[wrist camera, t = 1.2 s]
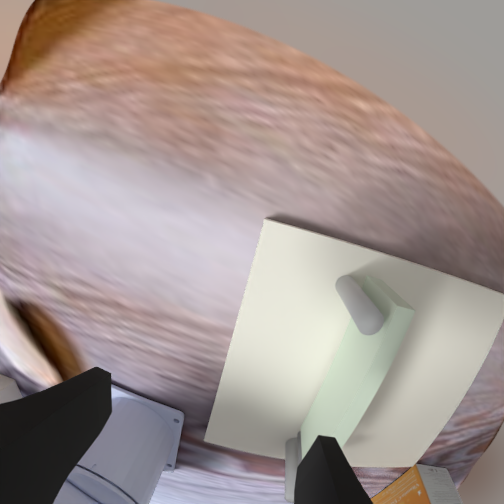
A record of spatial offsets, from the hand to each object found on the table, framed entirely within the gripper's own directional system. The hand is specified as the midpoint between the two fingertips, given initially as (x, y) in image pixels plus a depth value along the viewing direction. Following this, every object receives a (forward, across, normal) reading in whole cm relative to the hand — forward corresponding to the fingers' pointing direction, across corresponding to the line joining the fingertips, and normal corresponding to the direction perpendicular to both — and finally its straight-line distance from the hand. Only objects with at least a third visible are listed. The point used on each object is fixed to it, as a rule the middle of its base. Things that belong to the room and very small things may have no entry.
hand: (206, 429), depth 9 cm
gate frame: (+11, -10, +3) cm, 15 cm away
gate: (+9, -7, +2) cm, 12 cm away
